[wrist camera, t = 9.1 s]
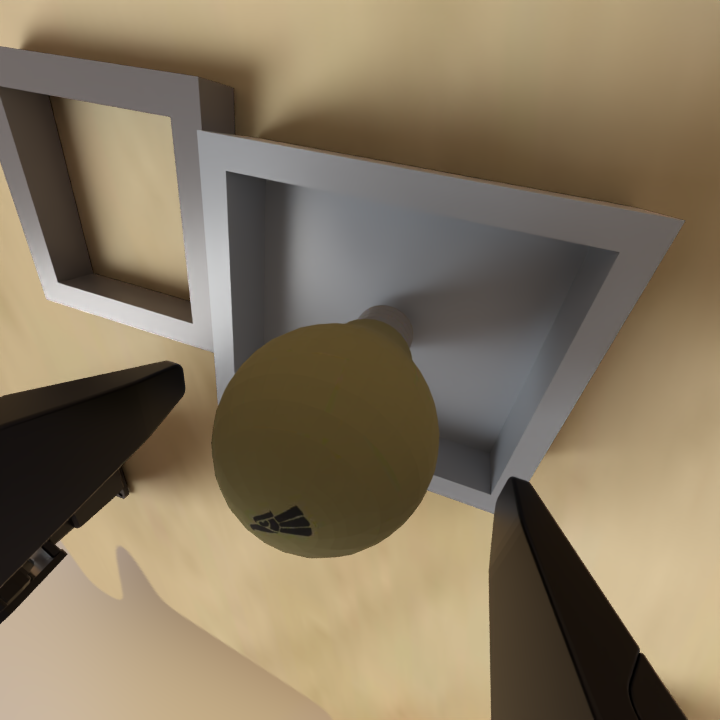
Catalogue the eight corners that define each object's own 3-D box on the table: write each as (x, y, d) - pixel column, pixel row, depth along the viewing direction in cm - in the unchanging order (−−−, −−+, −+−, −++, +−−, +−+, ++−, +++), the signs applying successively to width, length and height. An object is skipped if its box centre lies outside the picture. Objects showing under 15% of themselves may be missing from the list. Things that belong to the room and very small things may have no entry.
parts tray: (257, 380, 20) (218, 416, 17) (256, 137, 14) (196, 129, 11) (503, 460, 18) (506, 518, 15) (634, 207, 12) (685, 220, 9)
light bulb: (386, 227, 13) (226, 347, 5) (485, 330, 14) (495, 585, 6) (303, 319, 16) (117, 491, 8) (389, 399, 17) (303, 633, 9)
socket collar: (81, 289, 21) (46, 299, 20) (15, 53, 16) (-41, 40, 14) (240, 337, 19) (217, 353, 18) (233, 87, 14) (197, 76, 12)
